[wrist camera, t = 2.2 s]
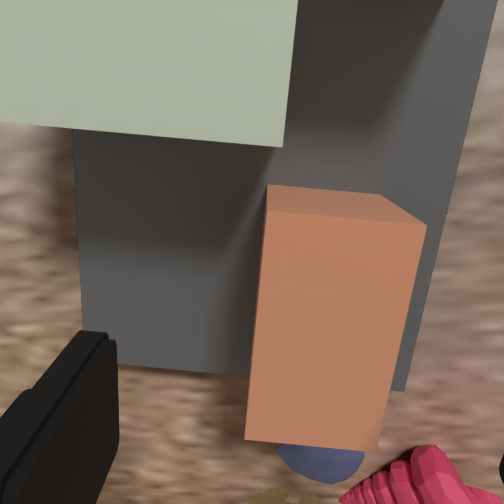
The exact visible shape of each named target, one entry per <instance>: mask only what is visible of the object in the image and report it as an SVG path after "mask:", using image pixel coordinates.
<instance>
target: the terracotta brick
mask: <svg viewBox="0 0 504 504" xmlns="http://www.w3.org/2000/svg"><path fill="white" fill-rule="evenodd" d="M426 229H427V225H426V224H424V223H423V222H421V221H420V220H418V219H417V218H415V217H414V216H412V215H411V214H409V213H408V212H406V211H405V210H403V209H401V208H400V207H398V206H397V205H395V204H394V203H392V202H391V201H389V200H388V199H386V198H385V197H383V196H382V195H379V194H368V193H357V192H346V191H336V190H325V189H314V188H303V187H292V186H281V185H270V184H267V194H266V204H265V214H264V225H263V235H262V245H261V256H260V266H259V276H258V287H257V297H256V307H255V318H254V328H253V338H252V349H251V359H250V372H249V385H248V398H247V412H246V425H245V438H244V440H254V441H264V442H274V443H284V444H294V445H305V446H315V447H325V448H335V449H345V450H355V451H365V452H376V449H377V445H378V441H379V436H380V432H381V427H382V423H383V419H384V414H385V410H386V405H387V401H388V396H389V392H390V388H391V383H392V379H393V374H394V370H395V366H396V361H397V357H398V352H399V348H400V343H401V339H402V335H403V330H404V326H405V321H406V317H407V313H408V308H409V304H410V299H411V295H412V291H413V286H414V282H415V277H416V273H417V268H418V264H419V260H420V255H421V251H422V246H423V242H424V238H425V233H426Z"/></svg>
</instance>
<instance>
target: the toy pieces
mask: <svg viewBox="0 0 504 504" xmlns="http://www.w3.org/2000/svg"><path fill="white" fill-rule="evenodd" d="M275 450H276V451H277V452H278V453H279V455H280V456H281V457H282V459H283V460H284V461H285V462H286V463H287V465H288V466H289V467H290V468H291V470H293V471H295V472H297V473H299V474H302V475H304V476H306V477H308V478H310V479H312V480H316V481H319V482H323V483H327V484H333V483H337V482H341V481H345V480H347V479H348V478H349V477H350V476H351V475H353V474H354V473H355V472H356V471H357V470H358V468H359V466H360V464H361V462H362V460H363V459H364V451H355V450H345V449H335V448H325V447H315V446H305V445H294V444H284V443H282V444H281V445H280V446H279V447H278V448H277V449H275ZM289 492H290V490H289V488H276V489H272V490H268V491H266V492H264V493H260V495H259V496H258V497H257V498H255V499H254V500H253V501H252V502H250V503H249V504H291V503H290V502H289V501H288V502H287V503H285V502H284V500H285V498H286V497H287V495H288V494H289ZM339 502H340V503H345V504H503V503H502V501H501V498H500V496H498V495H495V494H493V493H490V492H487V491H484V490H481V489H477V488H474V487H470V486H465V485H464V483H463V481H462V479H461V478H460V476H459V474H458V472H457V470H456V469H455V467H454V465H453V464H452V463H451V461H450V460H449V459H448V458H447V456H446V454H445V453H444V452H443V451H441V450H440V449H439V448H438V447H437V446H436V445H424V446H418V447H417V448H415V449H414V450H413V453H412V455H411V458H410V463H409V462H408V461H407V460H401V459H398V460H396V461H394V462H392V463H391V466H390V471H389V472H388V471H386V470H380V471H378V472H377V473H376V474H375V475H373V479H372V478H367V479H365V480H364V482H363V484H358V485H356V486H355V487H354V488H351V489H350V491H349V492H346V493H345V494H344V495H342V496H341V497H340V498H339ZM295 504H296V503H295ZM299 504H320V500H319V498H318V497H317V496H316V495H314V494H313V495H302V498H301V500H300V501H299Z"/></svg>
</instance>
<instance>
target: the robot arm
mask: <svg viewBox="0 0 504 504" xmlns="http://www.w3.org/2000/svg"><path fill="white" fill-rule="evenodd" d="M118 444H119V402H118V368H117V343H116V340H114V339H109V336H108V333H106V332H97V331H85V330H80V331H79V332H77V334H76V335H75V336H74V337H73V338H72V340H71V341H70V342H69V343H68V345H67V346H66V347H65V348H64V349H63V351H62V352H61V353H60V354H59V356H58V357H57V358H56V359H55V361H54V362H53V363H52V364H51V365H50V367H49V368H48V369H47V370H46V372H45V373H44V374H43V375H42V377H41V378H40V379H39V380H38V381H37V383H36V384H35V385H34V386H33V388H32V389H28V390H25V391H23V392H22V393H21V394H20V395H19V396H18V397H17V398H16V400H15V401H14V402H13V403H12V404H11V406H10V407H9V408H8V409H7V410H6V411H5V413H4V414H3V415H2V416H1V417H0V504H96V502H97V499H98V497H99V494H100V492H101V489H102V487H103V484H104V482H105V480H106V477H107V475H108V472H109V470H110V467H111V465H112V463H113V460H114V458H115V455H116V452H117V449H118ZM499 472H500V477H501V480H502V482H503V483H504V454H503V457H502V460H501V462H500V466H499Z"/></svg>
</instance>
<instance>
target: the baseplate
mask: <svg viewBox="0 0 504 504" xmlns="http://www.w3.org/2000/svg"><path fill="white" fill-rule="evenodd" d="M497 1H498V0H298V5H297V14H296V24H295V33H294V43H293V52H292V62H291V71H290V81H289V90H288V100H287V109H286V119H285V128H284V138H283V147H272V146H261V145H250V144H239V143H228V142H217V141H206V140H195V139H184V138H173V137H162V136H151V135H139V134H128V133H117V132H106V131H95V130H84V129H73V143H74V163H75V183H76V203H77V223H78V242H79V262H80V282H81V302H82V322H83V330H85V331H97V332H106V333H108V336H109V339H114V340H116V343H117V364H123V365H134V366H144V367H154V368H165V369H175V370H185V371H196V372H206V373H216V374H227V375H237V376H247V377H249V372H250V359H251V349H252V338H253V328H254V318H255V307H256V297H257V287H258V276H259V266H260V256H261V245H262V235H263V225H264V214H265V204H266V194H267V184H270V185H281V186H292V187H303V188H314V189H325V190H336V191H346V192H357V193H368V194H379V195H382V196H383V197H385V198H386V199H388V200H389V201H391V202H392V203H394V204H395V205H397V206H398V207H400V208H401V209H403V210H405V211H406V212H408V213H409V214H411V215H412V216H414V217H415V218H417V219H418V220H420V221H421V222H423V223H424V224H426V225H427V229H426V233H425V238H424V242H423V246H422V251H421V255H420V260H419V264H418V268H417V273H416V277H415V282H414V286H413V291H412V295H411V299H410V304H409V308H408V313H407V317H406V321H405V326H404V330H403V335H402V339H401V343H400V348H399V352H398V357H397V361H396V366H395V370H394V374H393V379H392V383H391V388H390V390H392V391H402V392H404V389H405V385H406V381H407V377H408V372H409V368H410V364H411V360H412V356H413V352H414V347H415V343H416V339H417V335H418V331H419V327H420V322H421V318H422V314H423V310H424V306H425V301H426V297H427V293H428V289H429V285H430V281H431V276H432V272H433V268H434V264H435V260H436V256H437V251H438V247H439V243H440V239H441V235H442V231H443V226H444V222H445V218H446V214H447V210H448V205H449V201H450V197H451V193H452V189H453V185H454V180H455V176H456V172H457V168H458V164H459V160H460V155H461V151H462V147H463V143H464V139H465V135H466V130H467V126H468V122H469V118H470V114H471V110H472V105H473V101H474V97H475V93H476V89H477V84H478V80H479V76H480V72H481V68H482V64H483V59H484V55H485V51H486V47H487V43H488V39H489V34H490V30H491V26H492V22H493V18H494V14H495V9H496V5H497Z"/></svg>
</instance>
